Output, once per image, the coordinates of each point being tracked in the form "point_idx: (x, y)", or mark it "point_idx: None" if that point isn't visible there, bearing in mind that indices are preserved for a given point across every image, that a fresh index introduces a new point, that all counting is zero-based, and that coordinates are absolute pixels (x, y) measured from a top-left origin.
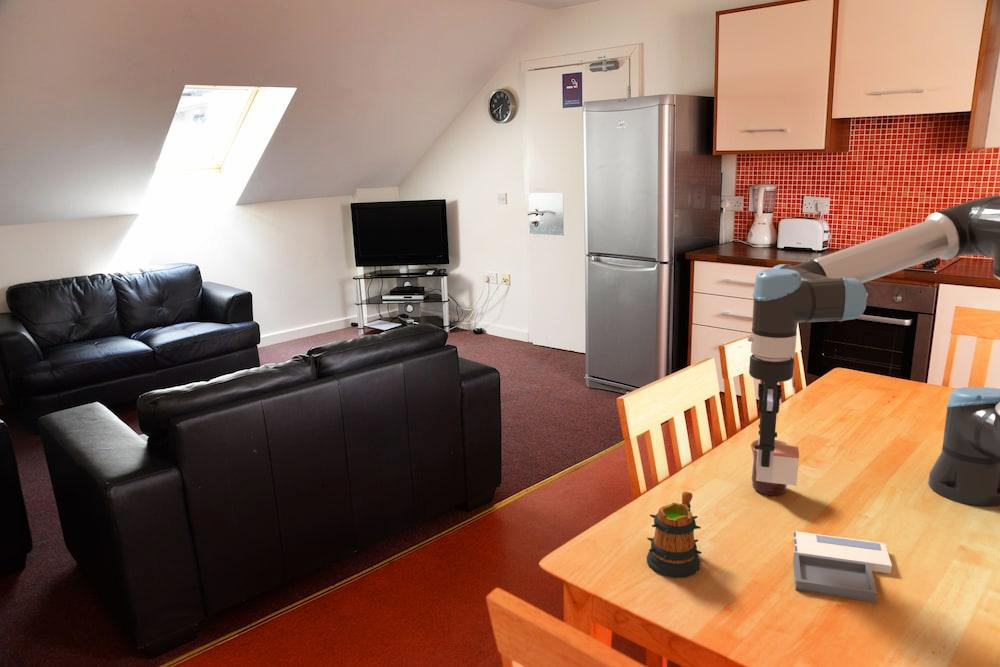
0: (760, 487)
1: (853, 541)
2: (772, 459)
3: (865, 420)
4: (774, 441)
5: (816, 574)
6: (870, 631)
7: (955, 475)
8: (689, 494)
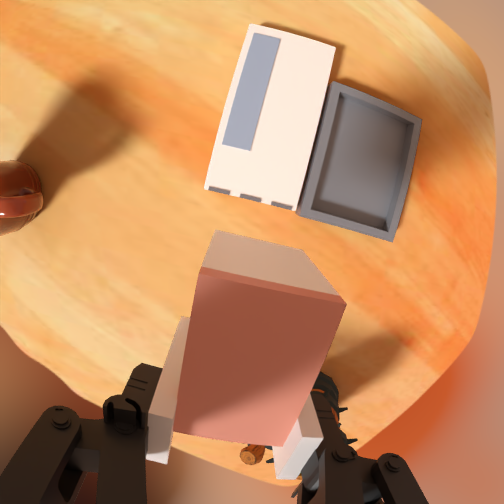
0: (30, 217)
1: (248, 75)
2: (311, 402)
3: None
4: (421, 492)
5: (351, 188)
6: (464, 167)
7: None
8: (260, 458)
